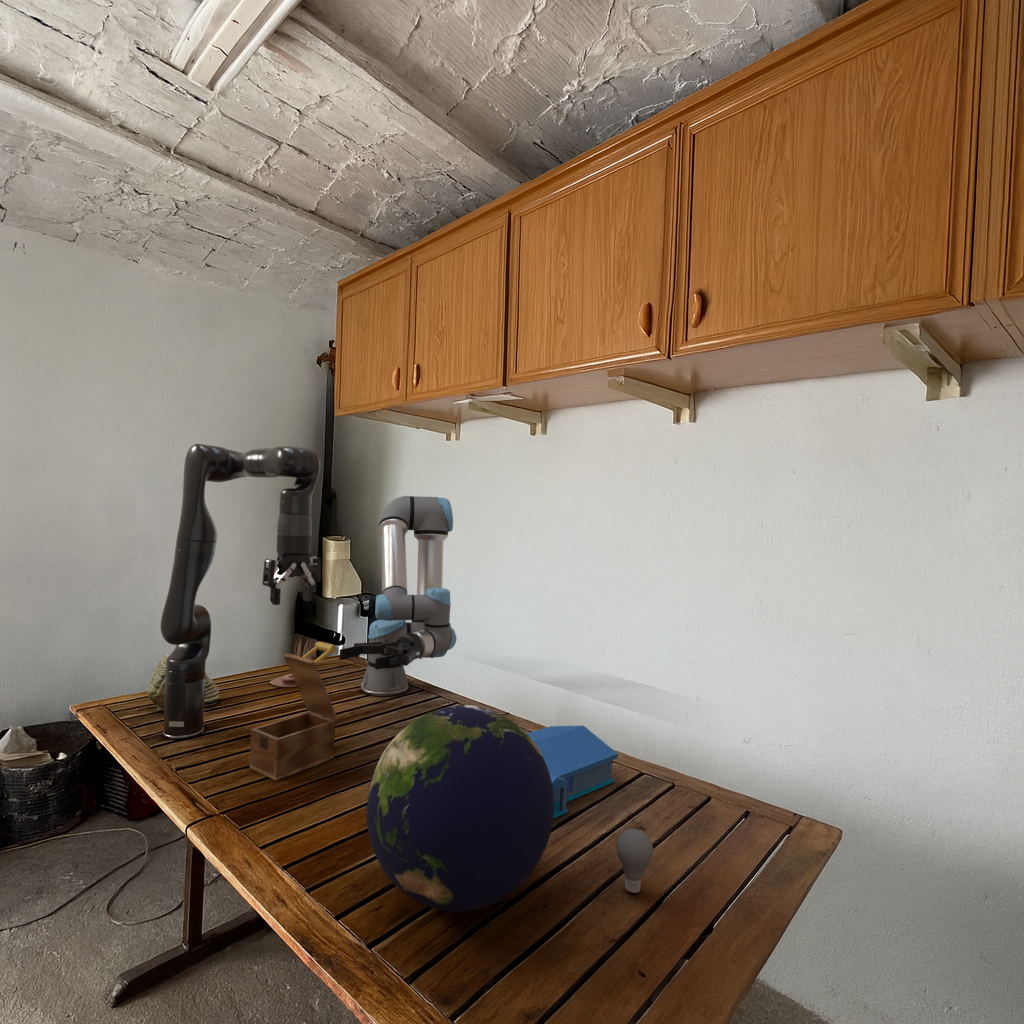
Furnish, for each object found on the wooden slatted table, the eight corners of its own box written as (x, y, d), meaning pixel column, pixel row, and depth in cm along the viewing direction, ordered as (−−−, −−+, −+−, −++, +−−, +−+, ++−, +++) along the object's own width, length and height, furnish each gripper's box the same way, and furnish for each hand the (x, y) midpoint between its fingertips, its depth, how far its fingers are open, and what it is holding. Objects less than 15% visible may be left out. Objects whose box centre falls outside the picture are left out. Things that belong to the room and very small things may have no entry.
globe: (322, 922, 94) (330, 722, 94) (423, 829, 122) (430, 674, 122) (507, 988, 83) (517, 762, 83) (572, 869, 111) (580, 699, 110)
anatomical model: (264, 673, 208) (283, 664, 219) (264, 685, 208) (283, 676, 219) (301, 677, 205) (319, 668, 216) (301, 689, 205) (318, 679, 216)
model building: (497, 843, 118) (499, 790, 118) (422, 794, 136) (424, 748, 136) (626, 786, 145) (628, 743, 144) (549, 751, 163) (551, 713, 163)
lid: (310, 663, 147) (339, 640, 153) (284, 655, 152) (312, 634, 159) (333, 719, 153) (360, 695, 160) (307, 710, 159) (333, 687, 165)
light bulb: (610, 879, 108) (613, 822, 108) (644, 879, 109) (647, 822, 109) (619, 902, 102) (622, 840, 102) (655, 901, 103) (658, 840, 103)
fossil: (144, 707, 182) (145, 655, 182) (212, 696, 194) (213, 647, 194) (151, 716, 175) (153, 662, 175) (221, 703, 188) (223, 653, 188)
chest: (276, 780, 140) (277, 740, 140) (249, 768, 146) (250, 729, 146) (334, 757, 154) (335, 720, 153) (307, 747, 159) (308, 711, 159)
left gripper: (277, 534, 139) (275, 608, 139) (329, 533, 151) (327, 601, 151) (257, 532, 143) (254, 604, 144) (309, 531, 155) (306, 597, 155)
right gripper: (446, 666, 176) (391, 683, 158) (383, 651, 190) (325, 664, 172) (448, 639, 175) (392, 653, 158) (384, 626, 190) (327, 637, 172)
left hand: (291, 602), depth 147 cm, fingers open, 8 cm apart
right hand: (357, 659), depth 165 cm, fingers open, 13 cm apart
